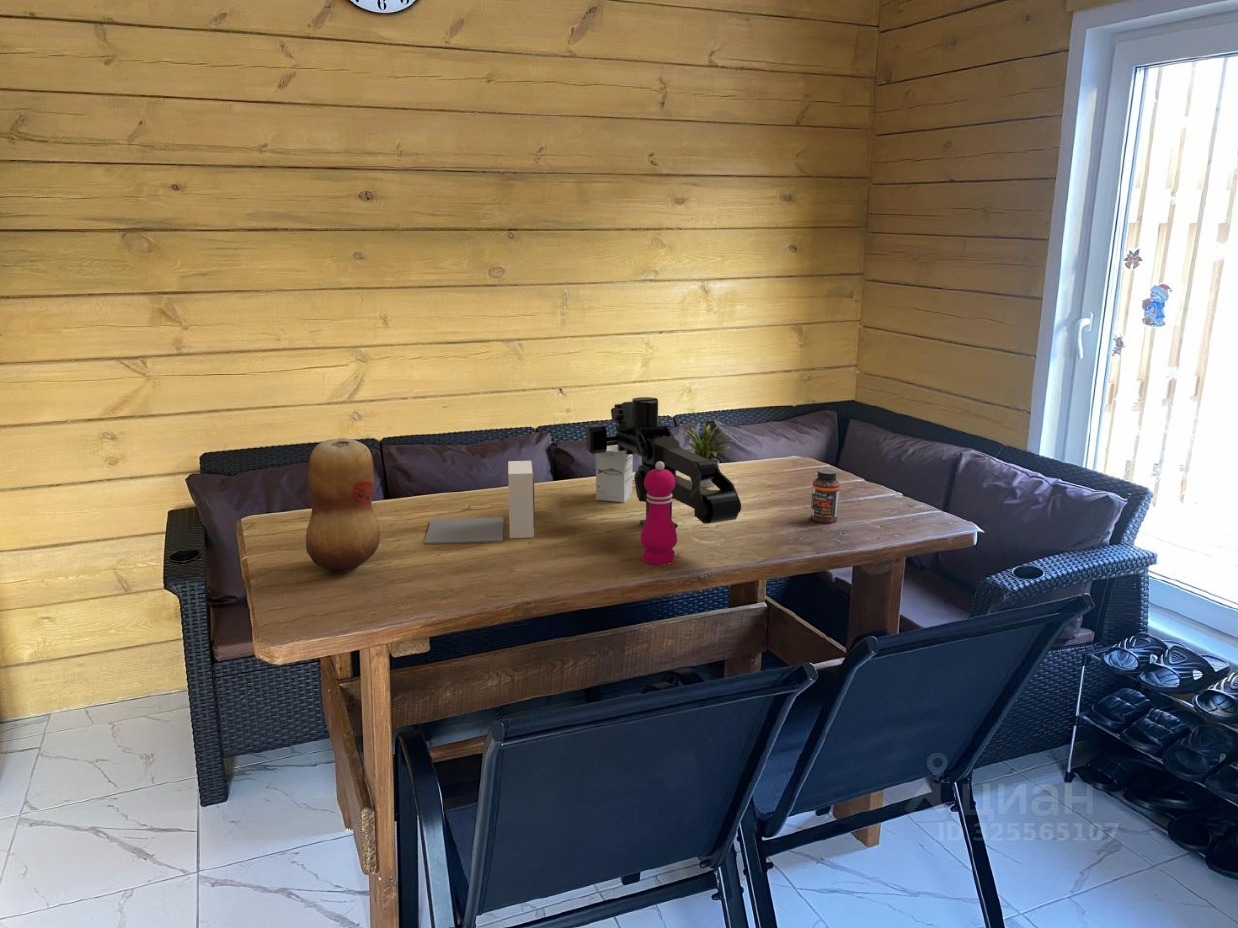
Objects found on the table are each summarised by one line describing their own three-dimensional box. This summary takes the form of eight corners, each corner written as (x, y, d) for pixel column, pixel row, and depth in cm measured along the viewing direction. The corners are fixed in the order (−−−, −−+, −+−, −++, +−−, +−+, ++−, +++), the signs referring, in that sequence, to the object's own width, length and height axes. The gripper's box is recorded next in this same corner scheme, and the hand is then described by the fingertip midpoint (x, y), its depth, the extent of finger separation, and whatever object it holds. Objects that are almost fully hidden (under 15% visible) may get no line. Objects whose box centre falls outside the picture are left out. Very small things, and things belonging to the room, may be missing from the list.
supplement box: (595, 500, 229) (594, 449, 226) (604, 492, 236) (604, 442, 233) (624, 503, 227) (624, 451, 224) (633, 495, 234) (633, 444, 231)
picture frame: (534, 521, 213) (532, 460, 210) (535, 537, 202) (533, 473, 199) (510, 522, 212) (508, 461, 209) (510, 538, 202) (508, 473, 198)
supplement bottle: (809, 522, 213) (812, 473, 210) (811, 514, 219) (813, 466, 216) (837, 524, 212) (840, 474, 209) (837, 516, 217) (840, 468, 214)
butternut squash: (345, 585, 175) (336, 452, 169) (293, 572, 181) (282, 444, 175) (397, 563, 186) (390, 437, 180) (346, 551, 193) (338, 430, 187)
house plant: (701, 496, 233) (703, 431, 229) (663, 485, 243) (664, 422, 239) (742, 486, 242) (744, 423, 238) (703, 476, 252) (705, 415, 248)
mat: (503, 519, 215) (503, 517, 214) (502, 541, 199) (502, 540, 199) (431, 521, 213) (430, 519, 213) (424, 544, 197) (424, 542, 197)
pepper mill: (632, 559, 189) (633, 461, 184) (657, 551, 194) (659, 455, 189) (659, 568, 184) (660, 468, 179) (684, 560, 189) (686, 461, 184)
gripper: (675, 403, 217) (644, 393, 231) (601, 409, 209) (573, 399, 223) (675, 451, 220) (644, 439, 233) (601, 459, 212) (573, 446, 225)
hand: (609, 430), depth 229 cm, fingers open, 9 cm apart
